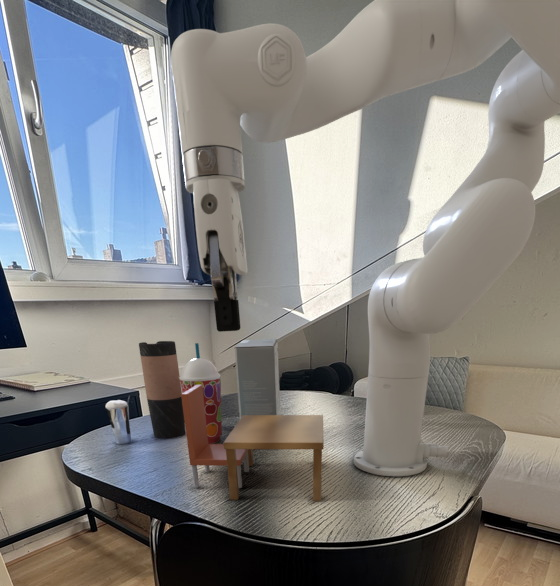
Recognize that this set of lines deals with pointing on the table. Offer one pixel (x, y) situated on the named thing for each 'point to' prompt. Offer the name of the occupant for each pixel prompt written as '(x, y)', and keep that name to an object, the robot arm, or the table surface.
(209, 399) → the smoothie
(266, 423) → the mini table
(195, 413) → the chair
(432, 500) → the table surface
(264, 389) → the hard drive box
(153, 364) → the travel mug
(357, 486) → the table surface
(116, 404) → the milkshake
